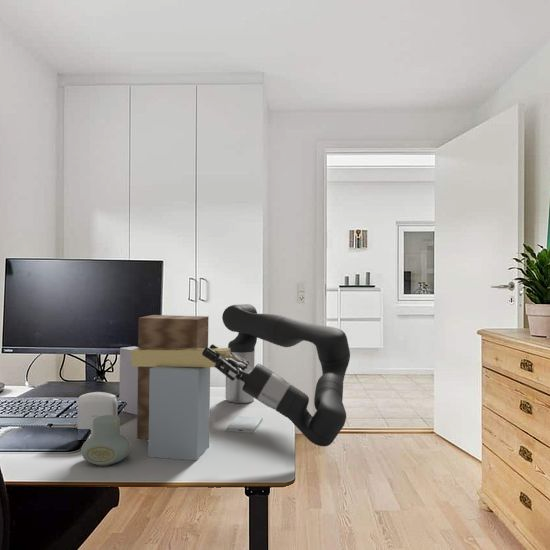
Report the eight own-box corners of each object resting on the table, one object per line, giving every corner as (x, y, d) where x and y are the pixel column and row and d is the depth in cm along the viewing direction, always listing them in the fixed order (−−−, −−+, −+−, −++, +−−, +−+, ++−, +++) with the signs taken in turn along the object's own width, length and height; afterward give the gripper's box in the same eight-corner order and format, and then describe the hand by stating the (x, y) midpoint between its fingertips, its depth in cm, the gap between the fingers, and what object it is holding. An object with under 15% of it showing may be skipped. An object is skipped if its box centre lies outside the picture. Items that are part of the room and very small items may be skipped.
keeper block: (148, 457, 124) (149, 368, 124) (163, 443, 134) (165, 361, 134) (197, 460, 122) (198, 370, 122) (209, 446, 132) (210, 363, 132)
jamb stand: (136, 439, 137) (138, 317, 137) (151, 428, 146) (153, 314, 146) (195, 443, 134) (197, 319, 134) (206, 432, 144) (208, 316, 144)
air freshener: (134, 455, 125) (134, 413, 125) (125, 468, 117) (125, 423, 117) (88, 455, 125) (89, 413, 125) (76, 467, 117) (76, 423, 117)
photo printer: (74, 442, 134) (75, 394, 134) (80, 436, 139) (81, 390, 139) (114, 442, 134) (114, 394, 134) (119, 437, 138) (120, 390, 138)
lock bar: (131, 366, 128) (131, 350, 128) (138, 363, 132) (137, 347, 132) (226, 367, 124) (226, 350, 124) (230, 364, 128) (230, 348, 128)
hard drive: (236, 415, 158) (226, 427, 145) (262, 417, 157) (254, 428, 144) (236, 421, 158) (225, 433, 145) (262, 422, 156) (254, 434, 144)
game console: (177, 427, 149) (178, 357, 149) (118, 410, 165) (119, 348, 165) (191, 422, 153) (192, 355, 153) (133, 407, 170) (134, 346, 170)
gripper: (252, 407, 118) (190, 367, 120) (263, 393, 132) (207, 357, 134) (269, 379, 117) (206, 339, 120) (278, 368, 131) (222, 332, 134)
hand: (207, 349), depth 127 cm, fingers open, 4 cm apart
